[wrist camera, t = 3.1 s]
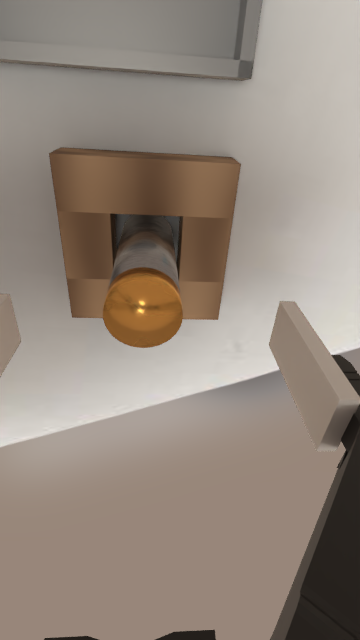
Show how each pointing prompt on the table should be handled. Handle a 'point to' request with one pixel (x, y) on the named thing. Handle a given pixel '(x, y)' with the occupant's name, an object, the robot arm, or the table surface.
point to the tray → (134, 35)
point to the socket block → (144, 199)
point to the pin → (144, 284)
